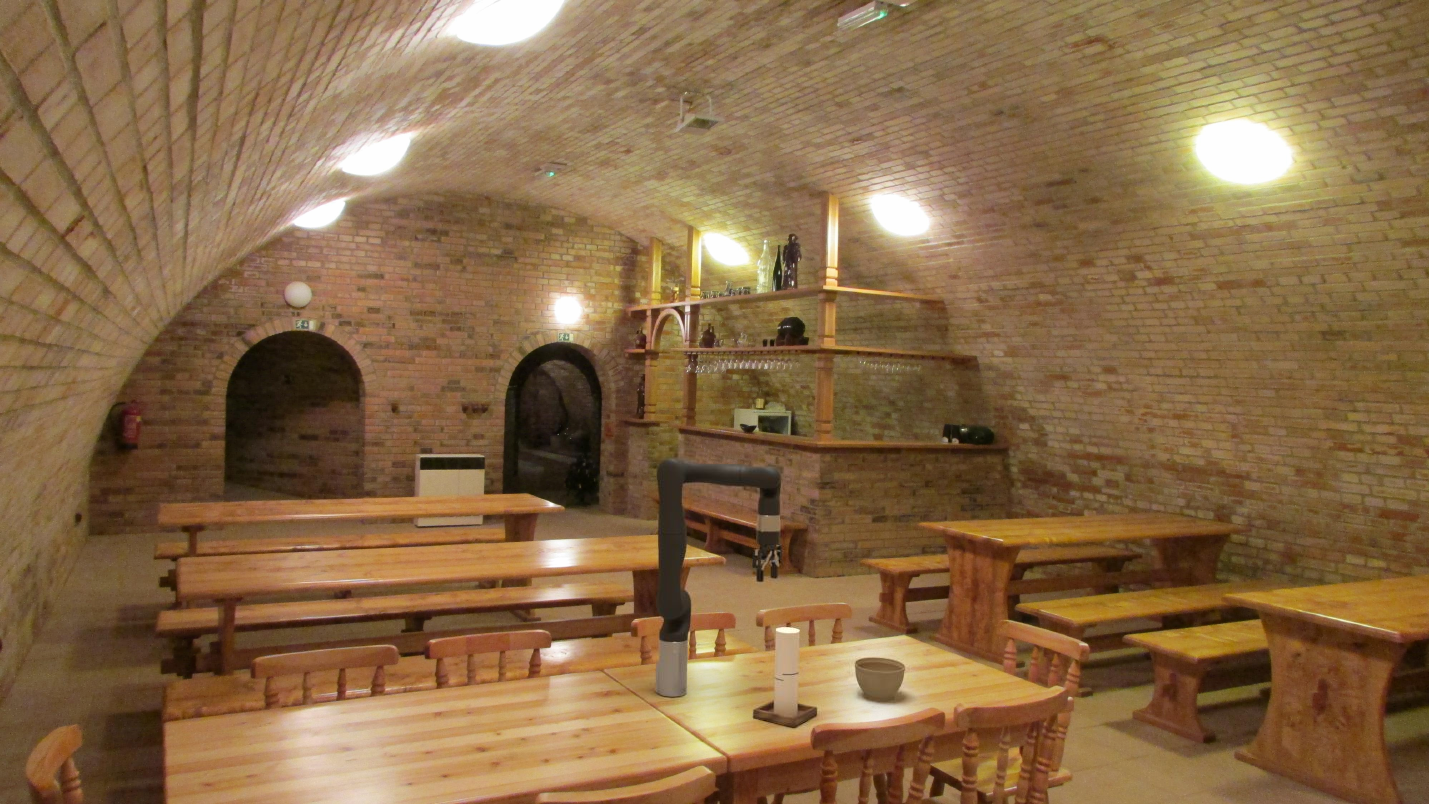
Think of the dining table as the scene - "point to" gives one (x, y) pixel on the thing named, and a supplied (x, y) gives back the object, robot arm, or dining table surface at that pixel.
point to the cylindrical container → (786, 671)
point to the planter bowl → (879, 677)
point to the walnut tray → (768, 714)
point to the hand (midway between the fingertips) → (767, 580)
